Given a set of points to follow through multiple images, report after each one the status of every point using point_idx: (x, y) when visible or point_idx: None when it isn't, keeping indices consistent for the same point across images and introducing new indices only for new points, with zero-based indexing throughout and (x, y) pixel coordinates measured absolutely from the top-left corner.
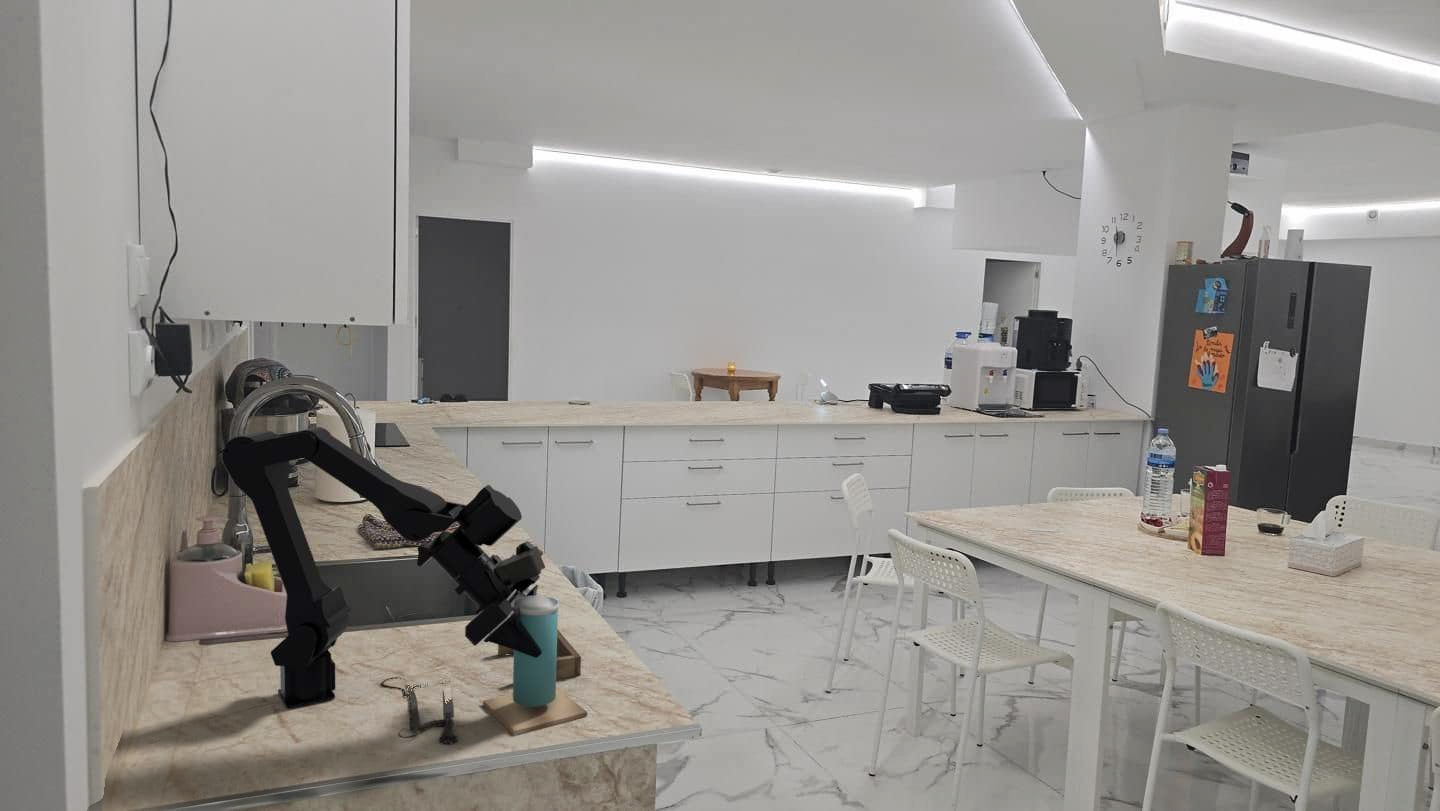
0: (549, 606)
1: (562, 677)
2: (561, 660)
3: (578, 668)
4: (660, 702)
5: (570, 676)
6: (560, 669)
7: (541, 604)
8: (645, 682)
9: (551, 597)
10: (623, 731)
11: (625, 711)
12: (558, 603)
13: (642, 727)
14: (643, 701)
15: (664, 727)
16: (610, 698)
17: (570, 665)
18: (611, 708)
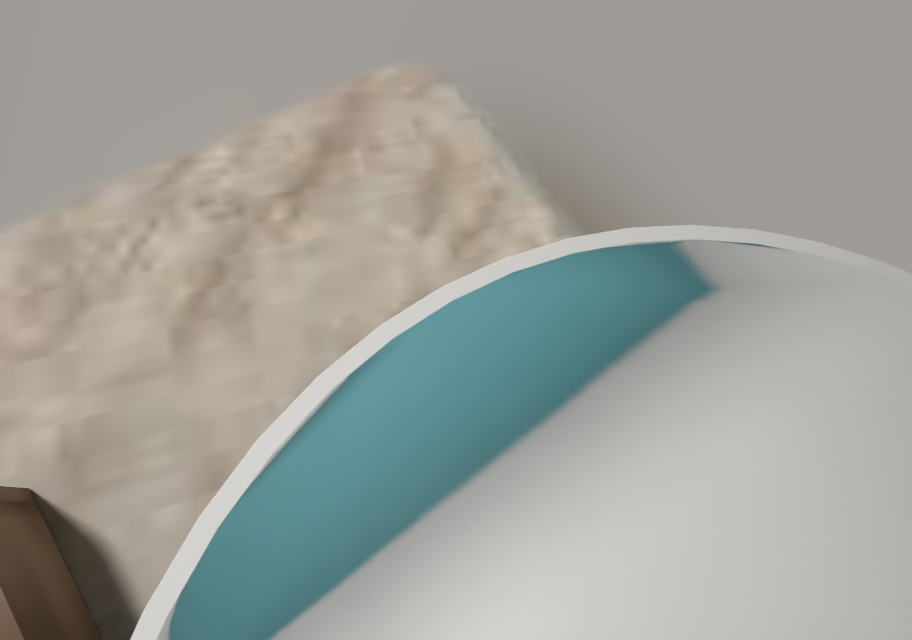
0: (909, 352)
1: (66, 571)
2: (4, 589)
3: (8, 497)
4: (282, 131)
5: (49, 534)
6: (43, 587)
7: (907, 623)
8: (102, 202)
9: (191, 579)
10: (520, 199)
11: (377, 221)
12: (617, 232)
13: (477, 154)
14: (283, 181)
15: (459, 99)
16: (276, 294)
17: (11, 536)
18: (363, 271)
